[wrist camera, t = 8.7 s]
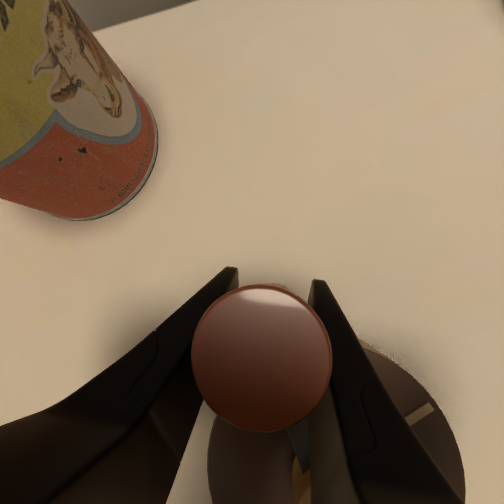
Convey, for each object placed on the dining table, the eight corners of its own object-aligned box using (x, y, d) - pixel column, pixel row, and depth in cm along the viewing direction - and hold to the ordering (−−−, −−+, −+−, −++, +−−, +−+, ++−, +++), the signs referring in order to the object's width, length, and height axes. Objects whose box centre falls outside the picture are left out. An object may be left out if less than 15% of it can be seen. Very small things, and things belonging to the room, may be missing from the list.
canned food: (160, 212, 19) (-44, 90, 7) (16, 228, 20) (-374, 146, 8) (155, 68, 20) (-23, -237, 8) (21, 90, 21) (-305, -151, 9)
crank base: (257, 566, 16) (250, 649, 12) (198, 362, 17) (177, 382, 14) (459, 510, 15) (517, 583, 11) (377, 303, 17) (403, 309, 13)
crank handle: (384, 506, 12) (663, 1106, 3) (308, 528, 12) (378, 1147, 3) (297, 273, 14) (328, 255, 5) (231, 296, 14) (148, 319, 5)
